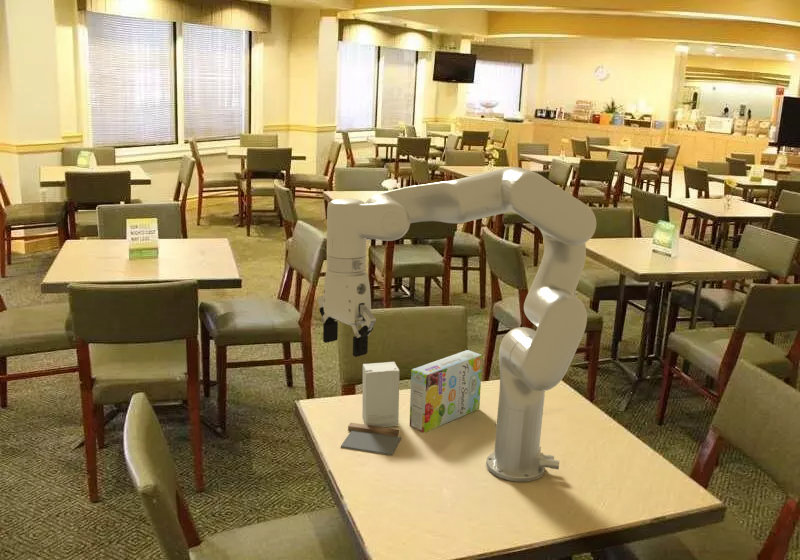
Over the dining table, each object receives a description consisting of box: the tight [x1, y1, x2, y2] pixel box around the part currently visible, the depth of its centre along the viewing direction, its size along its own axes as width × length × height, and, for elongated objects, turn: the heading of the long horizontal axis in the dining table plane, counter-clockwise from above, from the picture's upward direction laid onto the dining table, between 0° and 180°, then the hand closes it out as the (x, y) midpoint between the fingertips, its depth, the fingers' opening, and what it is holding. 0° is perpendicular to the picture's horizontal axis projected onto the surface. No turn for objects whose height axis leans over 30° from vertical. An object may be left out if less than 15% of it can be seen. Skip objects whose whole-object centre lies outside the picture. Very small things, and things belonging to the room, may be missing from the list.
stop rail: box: [347, 422, 400, 437], centre depth 177 cm, size 12×2×1 cm, turn 76°
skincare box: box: [361, 361, 401, 428], centre depth 181 cm, size 8×6×15 cm
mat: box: [340, 430, 402, 456], centre depth 172 cm, size 12×8×1 cm
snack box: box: [409, 349, 483, 434], centre depth 185 cm, size 21×6×15 cm, turn 136°
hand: (344, 348), depth 148 cm, fingers open, 9 cm apart
